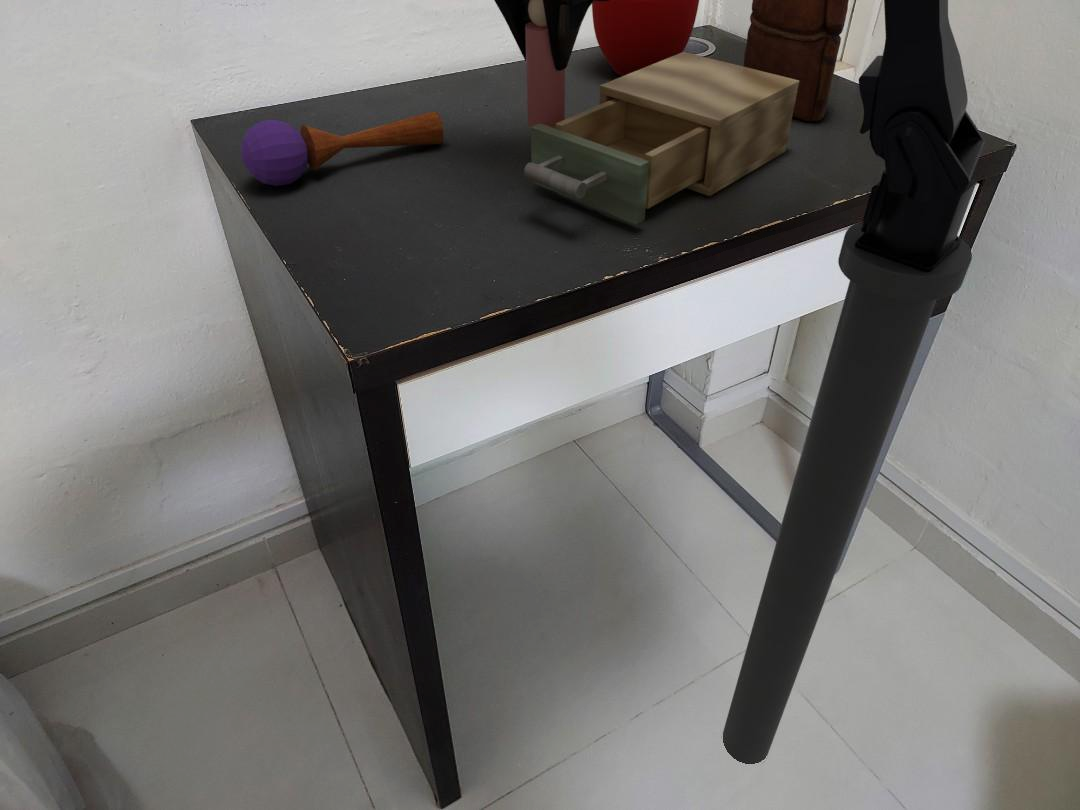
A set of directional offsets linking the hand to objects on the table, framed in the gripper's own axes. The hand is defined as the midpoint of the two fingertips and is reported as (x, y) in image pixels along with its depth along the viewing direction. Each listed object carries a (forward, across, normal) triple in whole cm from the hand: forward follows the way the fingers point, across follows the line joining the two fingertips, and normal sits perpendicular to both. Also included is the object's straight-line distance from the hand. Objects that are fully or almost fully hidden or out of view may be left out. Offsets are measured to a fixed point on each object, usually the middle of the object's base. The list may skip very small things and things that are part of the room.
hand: (545, 65), depth 73 cm
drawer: (+8, -10, +2) cm, 13 cm away
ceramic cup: (+10, +10, -30) cm, 33 cm away
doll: (+6, 0, 0) cm, 6 cm away
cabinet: (+9, -10, -11) cm, 17 cm away
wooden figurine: (+10, -10, -29) cm, 32 cm away
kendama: (+9, +14, +14) cm, 22 cm away
